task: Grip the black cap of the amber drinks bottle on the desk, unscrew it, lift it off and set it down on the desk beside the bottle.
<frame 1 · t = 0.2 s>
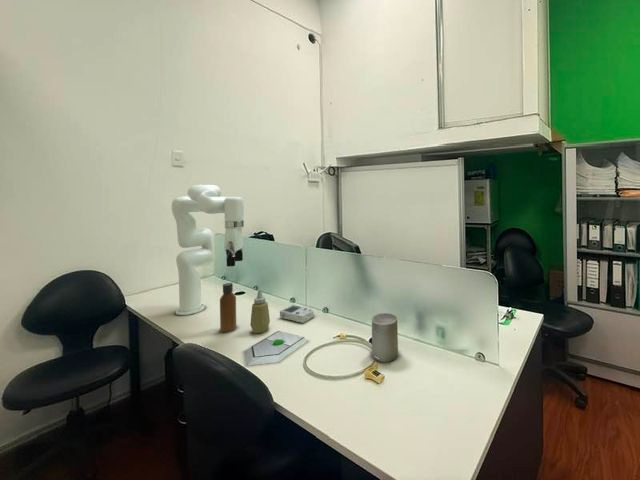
hand: (235, 263, 131), 30 cm above the table, tool pointing down, fingers open, 9 cm apart
security device: (271, 350, 115), on the table
squeeze bottle: (260, 331, 131), on the table
bottle: (228, 329, 133), on the table
pillar candle: (384, 355, 110), on the table
handheld gaming device: (297, 317, 144), on the table
cap: (227, 284, 133), point 20 cm above the table, screwed on, not yet turned
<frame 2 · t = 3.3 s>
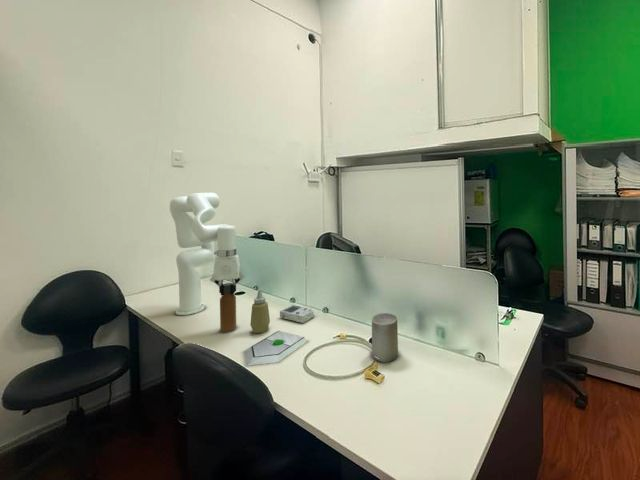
hand: (227, 293, 133), 16 cm above the table, tool pointing down, fingers closed on cap, 3 cm apart
cap: (227, 284, 133), point 20 cm above the table, screwed on, not yet turned, touching gripper
everything else where it was.
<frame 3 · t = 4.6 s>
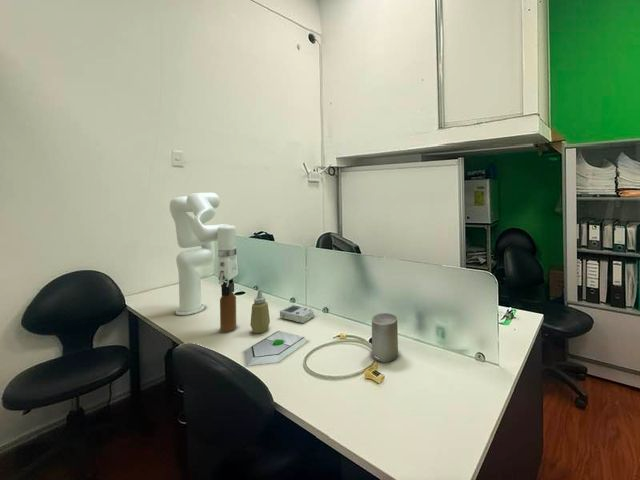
hand: (228, 293, 133), 16 cm above the table, tool pointing down, fingers closed on cap, 3 cm apart
cap: (227, 284, 133), point 20 cm above the table, turned 77° so far, risen 0.1 cm, still on its thread, touching gripper
everything else where it was.
when the fingers open (2 cm above the table, at t = 27.8 s): cap drops 2 cm, point 3 cm above the table.
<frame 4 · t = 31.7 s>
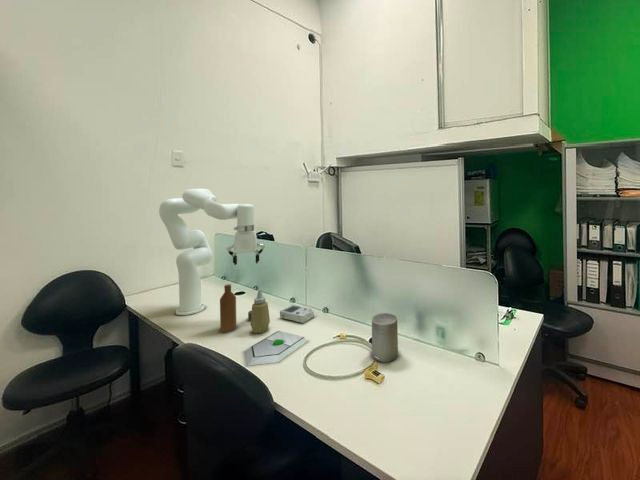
hand: (246, 263, 146), 26 cm above the table, tool pointing down, fingers open, 9 cm apart
cap: (252, 312, 143), point 3 cm above the table, off its thread
everything else where it was.
at the end: cap came off its thread; cap point 3.3 cm above the table; the gripper is holding nothing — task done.
